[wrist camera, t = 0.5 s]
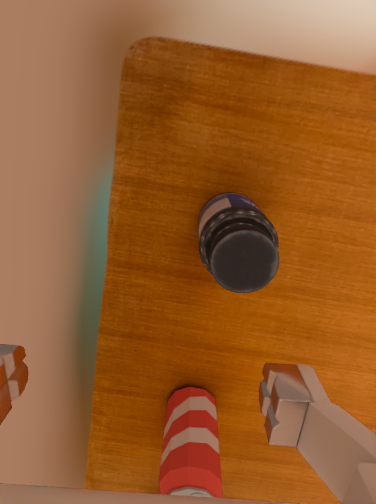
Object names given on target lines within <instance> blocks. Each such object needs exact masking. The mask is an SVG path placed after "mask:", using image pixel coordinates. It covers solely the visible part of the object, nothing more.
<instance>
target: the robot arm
mask: <svg viewBox="0 0 376 504" xmlns="http://www.w3.org/2000/svg"><path fill="white" fill-rule="evenodd" d="M25 356H26V354H25V349H24V347H22V346H16V345H5V344H0V424H1V423H2V422H3V420H4V419H5V417H6V415H7V414H8V413H9V411H10V410H11V408H12V405H11V401H13V400H15V399H16V398H18V397H19V396H20V395H21V394H22V392H23V390H24V389H25V386H26V383H27V380H28V367H27V366H26V365H25V364H24V362H23V361H22V360H23V359H24V358H25ZM262 373H263V376H264V380H263V381H262V382H261V383H260V388H259V403H260V409H261V413H262V414H263V415H264V416H265V417H266V419H265V424H264V426H265V430H266V434H267V438H268V442H269V445H280V446H290V447H297V450H298V451H299V452H300V453H301V455H302V456H303V457H304V458H305V459H306V461H307V462H308V463H309V464H310V465H311V467H312V468H313V469H314V470H315V472H316V473H317V474H318V475H319V476H320V478H321V479H322V480H323V481H324V482H325V484H326V485H327V486H328V487H329V489H330V490H331V491H332V492H333V493H334V495H335V496H336V497H337V498H338V499H339V501H340V502H341V503H342V504H376V434H374V433H373V432H372V431H371V430H369V429H368V428H367V427H365V426H364V425H363V424H361V423H360V422H359V421H358V420H356V419H355V418H354V417H352V416H351V415H350V414H348V413H347V412H346V411H345V410H343V409H342V408H341V407H339V406H338V405H337V404H332V403H331V401H330V399H329V398H328V396H327V394H326V392H325V390H324V388H323V386H322V384H321V382H320V380H319V379H318V377H317V375H316V373H315V371H314V369H313V367H312V366H311V365H301V364H295V365H293V364H277V363H265V364H264V367H263V372H262ZM0 504H299V503H285V502H270V501H255V500H240V499H225V498H210V497H195V496H180V495H165V494H150V493H135V492H121V491H106V490H91V489H75V488H61V487H47V486H32V485H16V484H2V483H0Z"/></svg>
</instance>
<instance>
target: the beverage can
mask: <svg viewBox="0 0 376 504" xmlns="http://www.w3.org/2000/svg"><path fill="white" fill-rule="evenodd" d="M159 487H160V493H161V494H165V495H180V496H195V497H210V498H221V497H222V480H221V467H220V454H219V441H218V427H217V414H216V401H215V398H214V397H213V396H212V395H211V394H209V393H208V392H207V391H206V390H205V389H200V388H194V387H187V388H184V389H180V390H177V391H175V392H174V393H173V395H172V396H171V397H170V399H169V400H168V401H167V410H166V420H165V429H164V439H163V448H162V457H161V467H160V476H159Z"/></svg>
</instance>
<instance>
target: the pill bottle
mask: <svg viewBox="0 0 376 504" xmlns="http://www.w3.org/2000/svg"><path fill="white" fill-rule="evenodd" d="M278 247H279V246H278V236H277V233H276V231H275V229H274V226H273V225H272V223H271V222H270V221H269V220H268V219H267V217H266V216H265V215H264V214H263V213H262V212H261V210H260V209H259V208H258V207H257V206H256V205H255V204H254V203H253V201H252V200H250V199H249V198H248V197H246V196H244V195H241V194H237V193H232V192H227V193H222V194H219V195H217V196H215V197H213V198H212V199H211V200H209V201H208V202H207V203H206V204H205V206H204V207H203V209H202V211H201V214H200V218H199V252H200V256H201V259H202V262H203V264H204V266H205V267H206V268H207V270H208V271H209V272H210V273H211V274H212V275H213V277H214V278H215V280H216V281H217V282H218V283H219V284H220V285H221V286H222V287H224V288H225V289H227V290H229V291H232V292H236V293H250V292H254V291H257V290H259V289H261V288H263V287H264V286H266V285H267V284H268V283H269V282H270V281H271V280H272V279H273V278H274V276H275V274H276V272H277V270H278V266H279V253H278Z"/></svg>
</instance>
